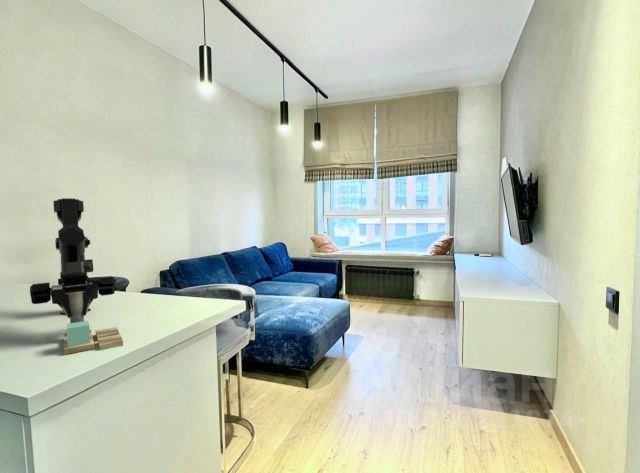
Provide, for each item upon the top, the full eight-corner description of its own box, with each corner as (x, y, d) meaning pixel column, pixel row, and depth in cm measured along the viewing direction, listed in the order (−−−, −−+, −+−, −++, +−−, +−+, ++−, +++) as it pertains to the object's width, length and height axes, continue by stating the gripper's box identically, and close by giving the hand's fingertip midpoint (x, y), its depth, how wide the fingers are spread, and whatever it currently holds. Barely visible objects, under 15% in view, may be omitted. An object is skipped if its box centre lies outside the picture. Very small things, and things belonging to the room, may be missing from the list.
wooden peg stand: (64, 338, 94) (61, 293, 93) (91, 333, 97) (88, 289, 96) (64, 354, 83) (60, 303, 82) (94, 348, 86) (91, 299, 85)
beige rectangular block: (95, 334, 96) (95, 330, 96) (116, 331, 99) (116, 326, 99) (99, 350, 85) (99, 345, 85) (123, 345, 88) (123, 340, 88)
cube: (67, 341, 88) (66, 324, 87) (89, 337, 90) (88, 320, 90) (67, 347, 84) (66, 328, 84) (90, 343, 87) (89, 325, 86)
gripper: (27, 252, 89) (27, 304, 81) (112, 247, 100) (119, 293, 92) (32, 279, 96) (32, 329, 88) (111, 271, 107) (117, 315, 99)
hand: (77, 315), depth 92 cm, fingers closed on wooden peg stand, 3 cm apart
